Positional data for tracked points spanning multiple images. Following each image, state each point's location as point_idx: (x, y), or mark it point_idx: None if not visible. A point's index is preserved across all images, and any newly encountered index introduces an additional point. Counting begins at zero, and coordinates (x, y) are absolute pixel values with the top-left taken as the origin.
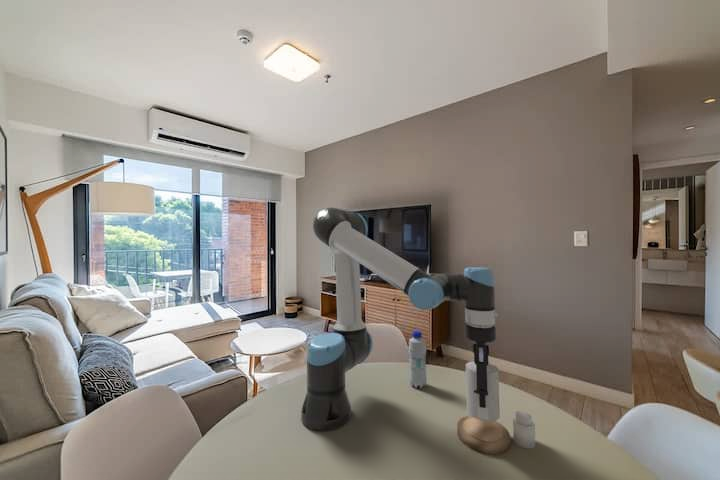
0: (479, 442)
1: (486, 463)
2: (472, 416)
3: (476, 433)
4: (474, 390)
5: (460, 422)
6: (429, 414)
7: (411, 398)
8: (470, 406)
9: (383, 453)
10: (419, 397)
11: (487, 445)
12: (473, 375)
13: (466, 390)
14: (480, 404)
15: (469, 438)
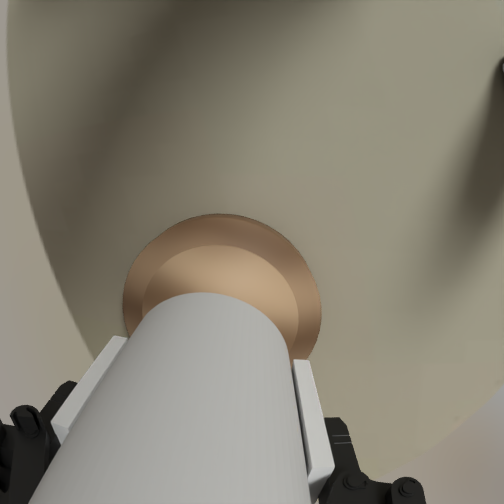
0: (130, 297)
1: (93, 297)
2: (147, 313)
3: (174, 295)
4: (11, 417)
5: (244, 235)
6: (331, 95)
7: (429, 34)
8: (138, 329)
9: (61, 5)
10: (448, 68)
11: (125, 321)
12: (29, 501)
13: (168, 359)
14: (57, 392)
15: (138, 264)
